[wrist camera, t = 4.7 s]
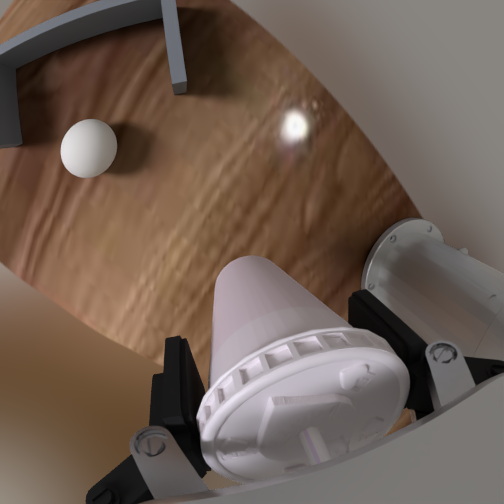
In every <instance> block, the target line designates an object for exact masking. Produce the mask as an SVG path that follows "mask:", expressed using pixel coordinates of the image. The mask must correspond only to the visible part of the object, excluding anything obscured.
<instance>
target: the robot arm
mask: <svg viewBox="0 0 504 504" xmlns="http://www.w3.org/2000/svg"><path fill="white" fill-rule="evenodd" d="M348 324H350V325H351V326H352V327H353V328H358V329H365V330H369V331H371V332H372V333H374V334H376V335H378V336H380V337H382V338H384V339H385V340H386V341H387V342H388V344H389V345H390V346H391V348H392V349H393V350H394V352H395V353H396V355H397V356H398V357H399V358H400V359H401V360H402V362H403V363H404V364H405V366H406V368H407V370H408V372H409V376H410V390H409V395H408V398H407V401H406V404H405V407H404V408H406V407H407V408H408V409H410V412H411V418H412V424H410V425H408V426H406V427H404V428H403V429H401V430H399V431H396V432H394V433H392V434H390V435H388V436H386V437H384V438H382V439H380V440H377V441H375V442H373V443H371V444H368V445H366V446H364V447H361V448H359V449H357V450H354V451H352V452H349V453H347V454H344V455H341V456H339V457H336V458H333V459H331V460H328V461H325V462H322V463H319V464H316V465H313V466H310V467H307V468H304V469H300V470H297V471H294V472H290V473H287V474H283V475H280V476H276V477H272V478H268V479H264V480H260V481H255V482H251V483H246V484H241V485H237V486H232V487H227V488H221V489H216V490H209V489H208V487H207V486H206V485H205V483H204V482H203V480H202V478H203V477H204V476H205V475H206V474H207V473H206V471H211V468H210V467H209V465H208V464H207V463H206V461H205V459H204V458H203V455H202V452H201V444H200V443H201V440H200V434H199V431H198V429H197V420H196V416H197V413H198V410H199V408H200V405H201V402H202V399H203V397H204V395H205V394H206V393H205V389H204V386H203V383H202V381H201V378H200V375H199V372H198V370H197V367H196V364H195V361H194V359H193V356H192V353H191V350H190V347H189V344H188V341H187V339H186V338H184V339H181V337H180V336H175V337H170V338H166V340H165V354H164V372H163V373H160V374H154V375H153V378H152V390H151V405H150V420H149V426H148V427H145V428H142V429H140V430H139V431H137V432H136V434H134V435H133V437H132V439H131V440H130V450H131V453H132V454H131V455H130V456H129V457H128V458H127V459H125V460H124V461H123V462H122V463H121V464H120V465H118V466H117V467H116V468H115V469H114V470H112V471H111V472H110V473H109V474H107V475H106V476H105V477H104V478H103V479H101V480H100V481H99V482H98V483H96V484H95V485H94V486H93V487H92V488H91V489H90V490H89V491H88V493H87V495H86V503H85V504H504V274H503V273H501V272H499V271H497V270H495V269H494V268H492V267H490V266H488V265H486V264H484V263H482V262H480V261H478V260H477V259H475V258H473V257H470V256H469V255H468V250H467V249H466V248H465V247H463V248H460V249H455V248H453V247H451V246H449V245H446V244H445V242H444V239H443V236H442V234H441V232H440V230H439V229H438V228H437V227H436V226H435V225H434V224H433V223H431V222H429V221H427V220H424V219H421V218H407V219H403V220H401V221H399V222H397V223H395V224H394V225H392V226H391V227H390V228H388V229H387V230H386V231H385V232H384V233H383V234H382V235H381V236H380V238H379V239H378V240H377V242H376V243H375V244H374V246H373V248H372V250H371V251H370V253H369V255H368V257H367V260H366V263H365V265H364V269H363V274H362V281H361V290H359V291H356V292H353V293H352V296H351V297H349V300H348Z"/></svg>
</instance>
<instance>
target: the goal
mask: <svg viewBox="0 0 504 504" xmlns="http://www.w3.org/2000/svg"><path fill="white" fill-rule="evenodd" d="M160 18H163V22H164V30H165V37H166V45H167V52H168V59H169V66H170V73H171V79H172V86H173V91H174V95H176V94H181V93H186V91H187V78H186V71H185V65H184V58H183V51H182V45H181V38H180V31H179V23H178V16H177V8H176V1H175V0H100V1H97V2H94V3H91V4H88V5H85V6H82V7H80V8H77V9H74V10H72V11H69V12H67V13H64V14H62V15H59V16H57V17H54V18H52V19H50V20H48V21H45V22H43V23H41V24H39V25H37V26H35V27H33V28H31V29H29V30H27V31H25V32H23V33H21V34H19V35H17V36H15V37H13V38H11V39H10V40H8V41H6V42H4V43H3V44H1V45H0V149H1V148H12V147H16V146H18V145H21V144H23V142H22V135H21V128H20V119H19V110H18V99H17V84H16V69H17V68H19V67H21V66H23V65H25V64H27V63H29V62H31V61H33V60H35V59H37V58H40V57H42V56H44V55H46V54H49V53H51V52H53V51H56V50H58V49H60V48H63V47H65V46H68V45H70V44H73V43H76V42H78V41H81V40H84V39H87V38H90V37H93V36H96V35H99V34H102V33H105V32H108V31H112V30H115V29H119V28H122V27H126V26H130V25H134V24H138V23H142V22H146V21H151V20H155V19H160Z"/></svg>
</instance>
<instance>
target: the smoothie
mask: <svg viewBox="0 0 504 504" xmlns="http://www.w3.org/2000/svg"><path fill="white" fill-rule="evenodd" d="M409 390H410V376H409V372H408V370H407V368H406V366H405V364H404V363H403V362H402V360H401V359H400V358H399V357H398V356H397V355H396V353H395V352H394V350H393V349H392V348H391V346H390V345H389V344H388V342H387V341H386V340H385V339H384V338H382V337H380V336H378V335H376V334H374V333H372V332H371V331H369V330H365V329H358V328H353V327H352V326H351V325H350V324H348V323H347V322H346V321H345V320H344V319H343V318H341V317H340V316H338V315H337V314H336V313H335V312H333V311H332V310H331V309H330V308H328V307H327V306H326V305H325V304H323V303H322V302H321V301H320V300H319V299H317V298H316V297H315V296H314V295H312V294H311V293H310V292H309V291H307V290H306V289H305V288H304V287H303V286H301V285H300V284H299V283H298V282H296V281H295V280H294V279H293V278H291V277H290V276H289V275H288V274H287V273H285V272H284V271H283V270H282V269H280V268H279V267H278V266H277V265H275V264H274V263H273V262H272V261H270V260H268V259H266V258H264V257H260V256H245V257H241V258H238V259H236V260H234V261H232V262H230V263H229V264H228V265H227V266H225V267H224V269H223V270H222V271H221V272H220V274H219V276H218V278H217V280H216V284H215V294H214V308H213V322H212V336H211V352H210V369H209V382H208V391H207V393H206V394H205V395H204V397H203V399H202V402H201V405H200V408H199V410H198V413H197V416H196V420H197V429H198V431H199V434H200V440H201V443H200V444H201V452H202V455H203V458H204V459H205V461H206V463H207V464H208V465H209V467H210V468H212V469H213V470H214V471H215V472H217V473H218V474H220V475H221V476H224V477H225V478H227V479H230V480H233V481H236V482H239V483H243V484H246V483H251V482H255V481H260V480H264V479H268V478H272V477H276V476H280V475H283V474H287V473H290V472H294V471H297V470H300V469H304V468H307V467H310V466H313V465H316V464H319V463H322V462H325V461H328V460H331V459H333V458H336V457H339V456H341V455H344V454H347V453H349V452H352V451H354V450H357V449H359V448H361V447H364V446H366V445H368V444H371V443H373V442H375V441H377V440H380V439H381V438H382V437H383V436H384V435H385V434H386V433H387V432H388V431H389V430H390V429H391V427H392V426H393V425H394V423H395V422H396V421H397V419H398V418H399V416H400V414H401V412H402V411H403V409H404V407H405V404H406V401H407V398H408V395H409Z"/></svg>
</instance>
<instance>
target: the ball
mask: <svg viewBox="0 0 504 504" xmlns="http://www.w3.org/2000/svg"><path fill="white" fill-rule="evenodd" d="M116 152H117V140H116V136H115V134H114V132H113V130H112V129H111V128H110V127H109V126H108V125H107V124H106V123H104V122H102V121H100V120H96V119H87V120H83V121H81V122H78V123H77V124H75V125H74V126H72V127H71V128H70V129H69V131H68V132H67V133H66V135H65V136H64V139H63V141H62V145H61V158H62V161H63V164H64V165H65V167H66V168H67V170H68V171H69V172H71V173H72V174H74V175H75V176H78V177H82V178H91V177H95V176H98V175H100V174H101V173H103V172H104V171H106V170H107V169H108V168H109V166H110V165H111V164H112V162H113V160H114V158H115V155H116Z"/></svg>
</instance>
